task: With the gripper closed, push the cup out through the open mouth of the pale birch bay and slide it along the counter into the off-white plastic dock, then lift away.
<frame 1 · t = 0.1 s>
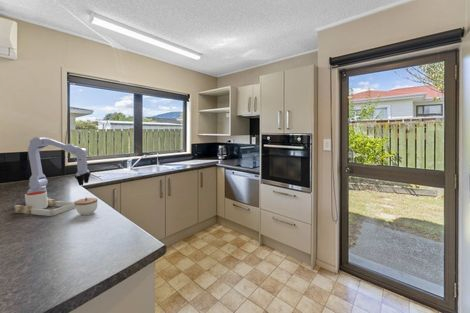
hand: (83, 184, 156), 10 cm above the countertop, fingers open, 7 cm apart
dock: (54, 210, 131), on the countertop
cup: (37, 209, 134), on the countertop
lidded jar: (87, 213, 126), on the countertop
bay: (37, 208, 134), on the countertop
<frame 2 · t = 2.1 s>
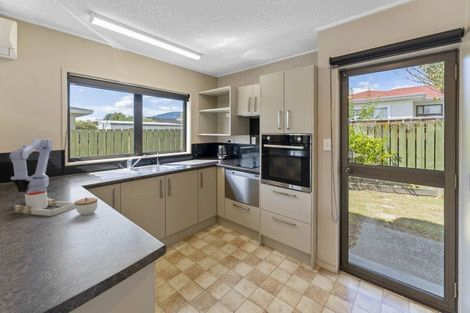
hand: (23, 191, 136), 10 cm above the countertop, fingers closed
nothing on the countertop moved.
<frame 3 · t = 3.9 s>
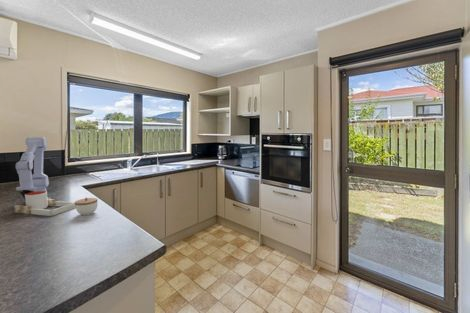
hand: (28, 202, 135), 4 cm above the countertop, fingers closed
cup: (37, 209, 134), on the countertop, touching gripper
everything else where it was.
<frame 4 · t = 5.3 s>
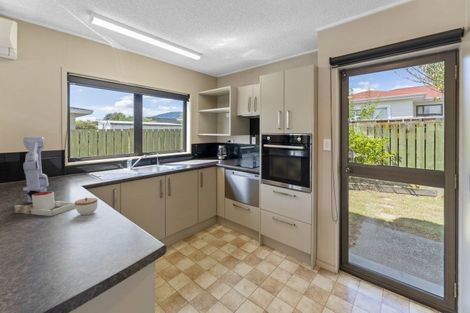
hand: (35, 202, 134), 4 cm above the countertop, fingers closed
cup: (44, 209, 133), on the countertop, touching gripper
everything else where it was.
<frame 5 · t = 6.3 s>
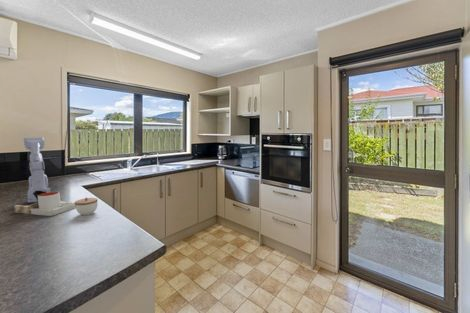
hand: (40, 202, 133), 4 cm above the countertop, fingers closed
cup: (50, 210, 132), on the countertop, touching gripper
everything else where it was.
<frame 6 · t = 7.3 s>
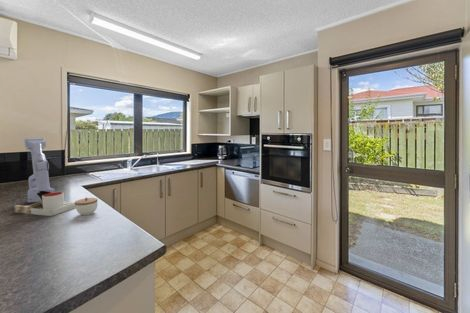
hand: (45, 203, 132), 4 cm above the countertop, fingers closed
cup: (54, 210, 131), on the countertop, touching gripper
everything else where it was.
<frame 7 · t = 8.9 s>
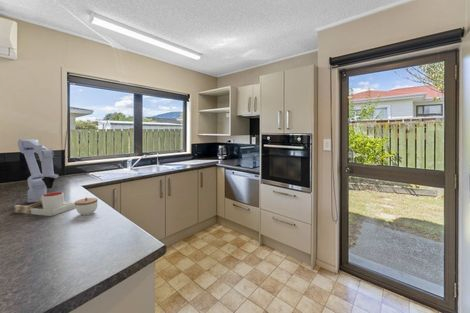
hand: (49, 188, 144), 10 cm above the countertop, fingers closed
cup: (54, 210, 131), on the countertop
everything else where it was.
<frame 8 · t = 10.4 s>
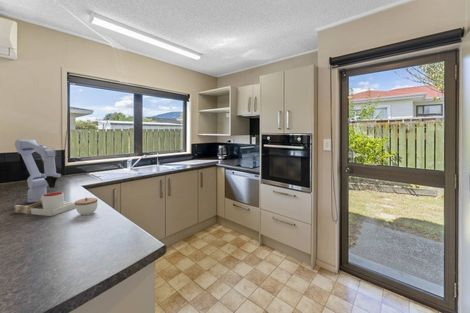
hand: (52, 187, 145), 10 cm above the countertop, fingers closed
nothing on the countertop moved.
at the end: cup 0.2 cm from the dock (horizontally); cup tilted 0°; cup moved 13.2 cm from its start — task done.
